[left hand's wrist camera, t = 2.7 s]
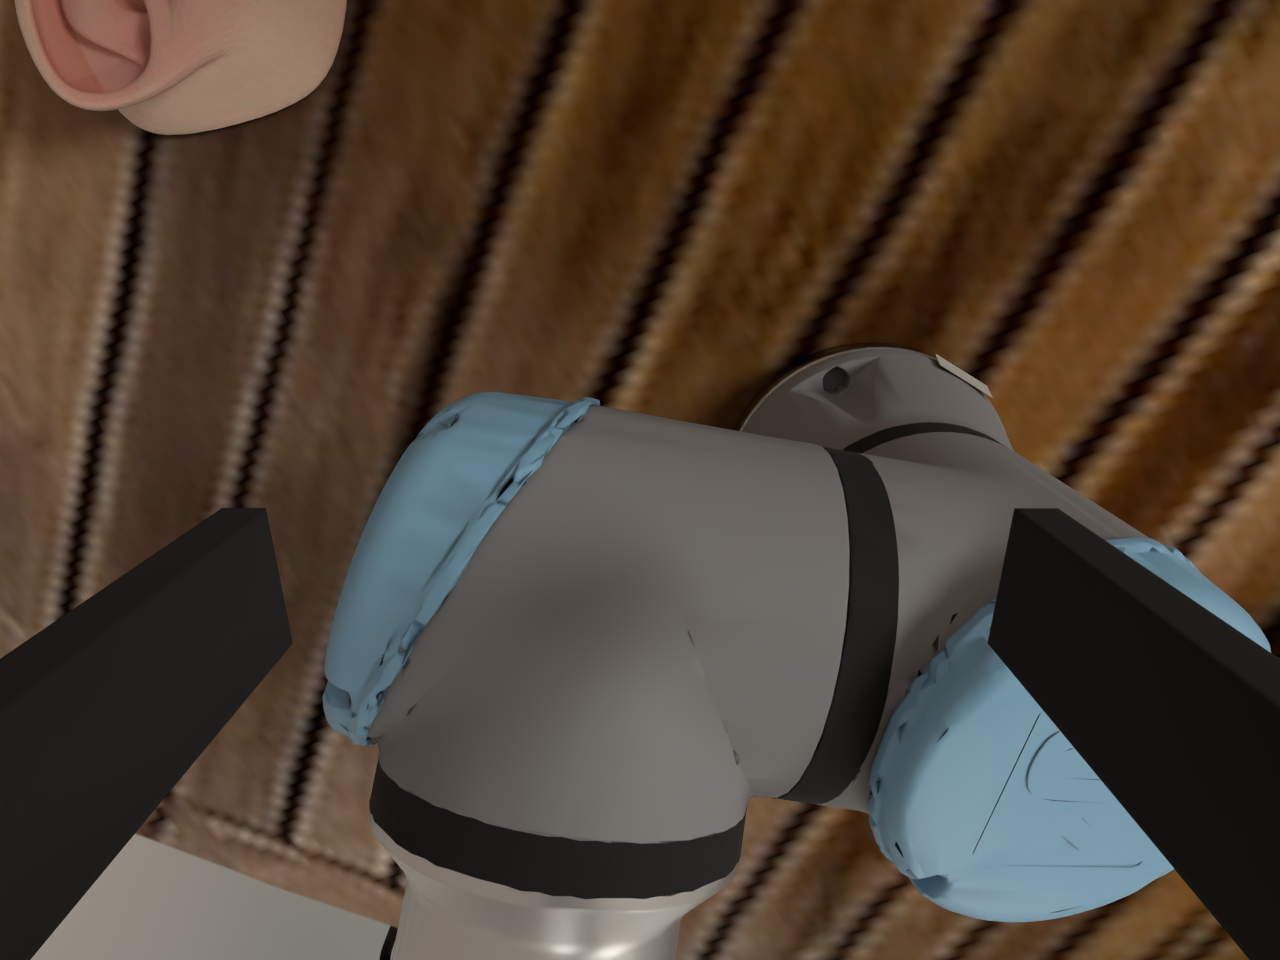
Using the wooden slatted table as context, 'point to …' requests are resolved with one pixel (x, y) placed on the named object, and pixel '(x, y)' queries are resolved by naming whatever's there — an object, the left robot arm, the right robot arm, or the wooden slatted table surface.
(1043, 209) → the wooden slatted table surface
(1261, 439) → the wooden slatted table surface
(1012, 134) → the wooden slatted table surface
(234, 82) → the anatomical model
